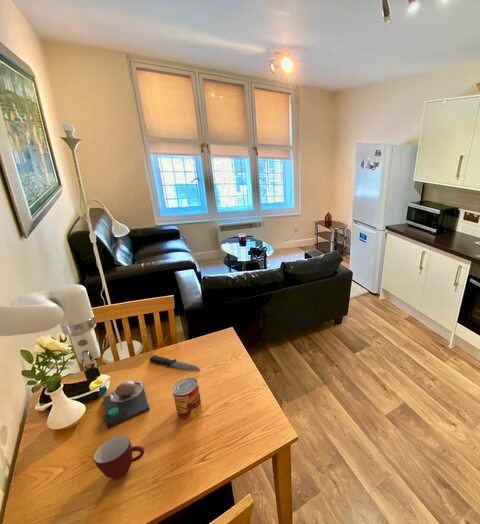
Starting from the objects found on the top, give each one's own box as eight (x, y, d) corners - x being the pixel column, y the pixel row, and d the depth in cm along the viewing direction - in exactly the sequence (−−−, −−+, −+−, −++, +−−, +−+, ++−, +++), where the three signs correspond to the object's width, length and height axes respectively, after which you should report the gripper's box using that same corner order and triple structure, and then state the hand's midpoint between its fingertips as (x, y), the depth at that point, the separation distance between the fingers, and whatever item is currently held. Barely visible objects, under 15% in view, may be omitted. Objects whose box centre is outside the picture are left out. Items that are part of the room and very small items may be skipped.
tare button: (109, 419, 97) (108, 415, 96) (108, 413, 98) (107, 410, 98) (119, 415, 98) (118, 411, 98) (119, 409, 100) (117, 405, 100)
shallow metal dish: (112, 408, 100) (111, 406, 99) (109, 391, 106) (109, 389, 106) (144, 395, 106) (144, 392, 105) (140, 379, 112) (140, 377, 112)
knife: (205, 364, 124) (197, 373, 119) (205, 367, 124) (197, 375, 120) (155, 353, 128) (146, 360, 124) (156, 356, 129) (147, 363, 124)
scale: (106, 430, 96) (104, 424, 94) (102, 400, 106) (100, 394, 105) (150, 410, 103) (148, 404, 102) (143, 384, 114) (141, 379, 113)
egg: (114, 401, 102) (111, 392, 101) (119, 388, 107) (116, 380, 106) (134, 396, 105) (132, 388, 103) (138, 384, 110) (136, 376, 108)
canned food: (172, 414, 103) (166, 389, 98) (192, 398, 109) (187, 374, 105) (188, 423, 100) (182, 398, 95) (207, 406, 106) (202, 382, 102)
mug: (146, 448, 91) (139, 426, 87) (148, 470, 85) (141, 447, 81) (103, 467, 85) (94, 444, 81) (102, 492, 79) (92, 469, 75)
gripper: (96, 333, 83) (110, 379, 89) (93, 308, 95) (105, 350, 101) (61, 343, 78) (78, 391, 85) (62, 315, 90) (77, 359, 96)
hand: (93, 369), depth 93 cm, fingers open, 9 cm apart
